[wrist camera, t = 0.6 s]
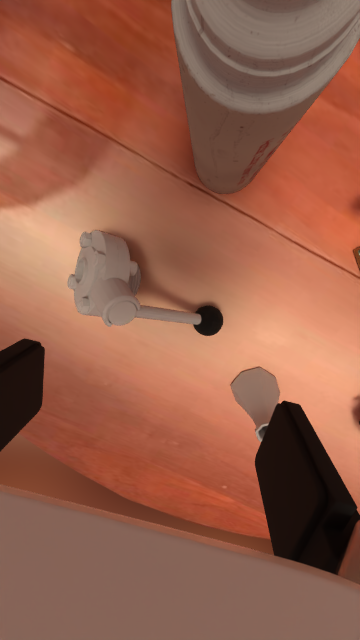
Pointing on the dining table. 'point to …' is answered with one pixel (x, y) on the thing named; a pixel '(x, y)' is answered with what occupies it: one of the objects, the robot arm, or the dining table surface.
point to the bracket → (357, 255)
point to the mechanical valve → (123, 287)
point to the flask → (257, 396)
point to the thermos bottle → (254, 75)
